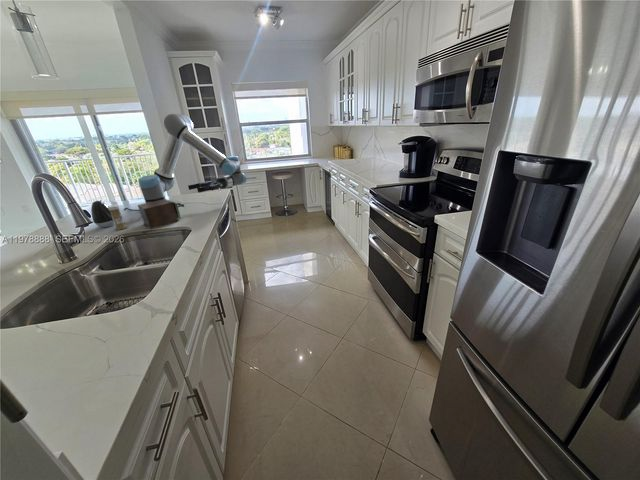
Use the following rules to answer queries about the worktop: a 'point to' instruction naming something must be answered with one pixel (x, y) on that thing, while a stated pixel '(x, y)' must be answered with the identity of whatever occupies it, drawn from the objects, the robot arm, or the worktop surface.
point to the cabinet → (158, 213)
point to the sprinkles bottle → (117, 217)
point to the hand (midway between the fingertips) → (193, 189)
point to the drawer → (177, 208)
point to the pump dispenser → (101, 214)
